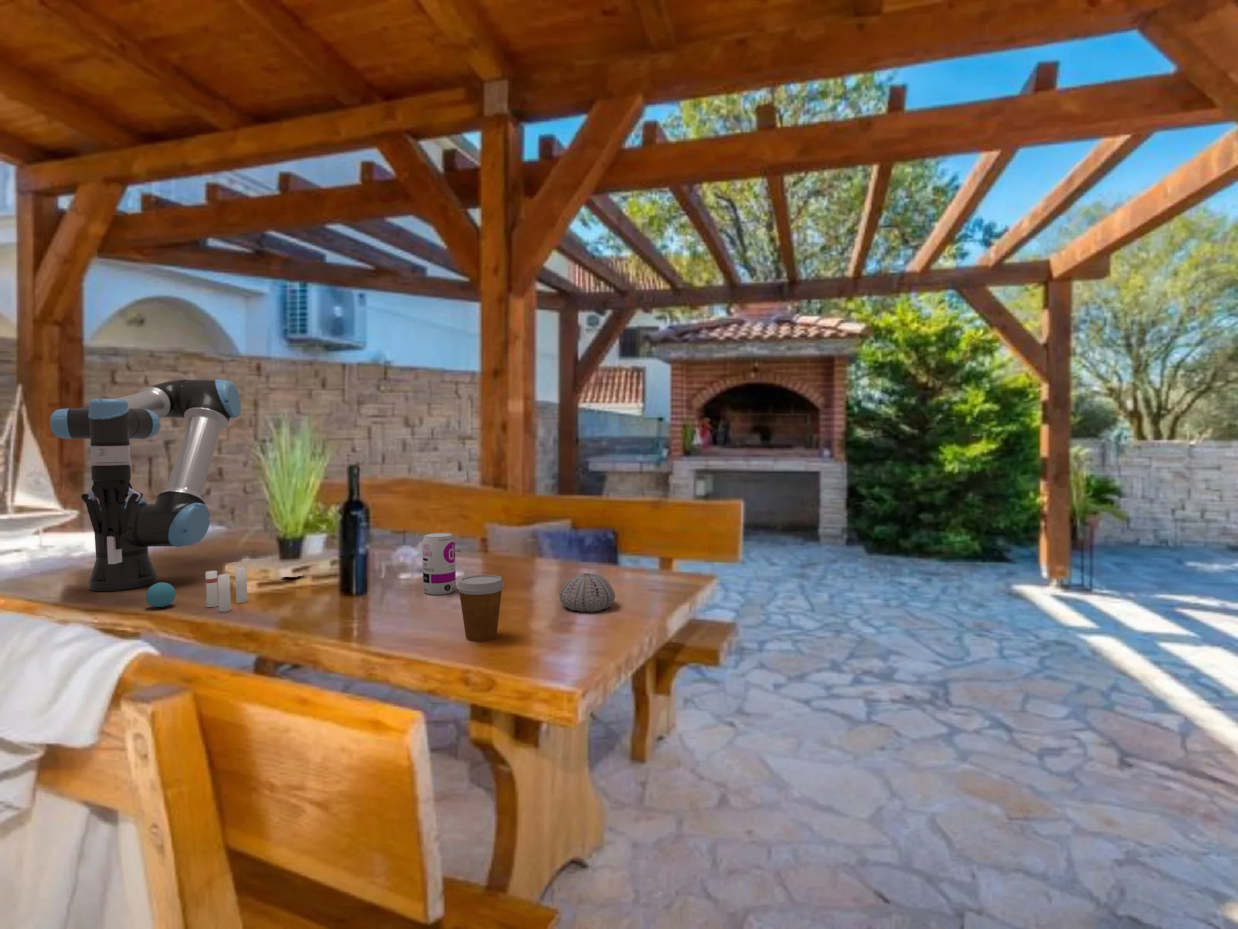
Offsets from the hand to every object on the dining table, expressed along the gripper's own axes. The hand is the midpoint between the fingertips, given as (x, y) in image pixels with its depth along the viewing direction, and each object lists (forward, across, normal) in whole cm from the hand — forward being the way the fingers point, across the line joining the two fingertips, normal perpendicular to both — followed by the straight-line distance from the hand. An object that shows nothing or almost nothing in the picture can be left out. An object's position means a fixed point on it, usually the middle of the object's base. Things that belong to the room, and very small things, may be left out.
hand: (115, 562), depth 165 cm
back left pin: (+11, +27, +5) cm, 30 cm away
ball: (+8, +10, 0) cm, 13 cm away
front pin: (+11, +22, 0) cm, 25 cm away
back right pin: (+11, +27, -4) cm, 29 cm away
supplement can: (+11, +74, +12) cm, 76 cm away
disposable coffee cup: (+12, +90, -27) cm, 95 cm away
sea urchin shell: (+12, +112, -5) cm, 113 cm away
